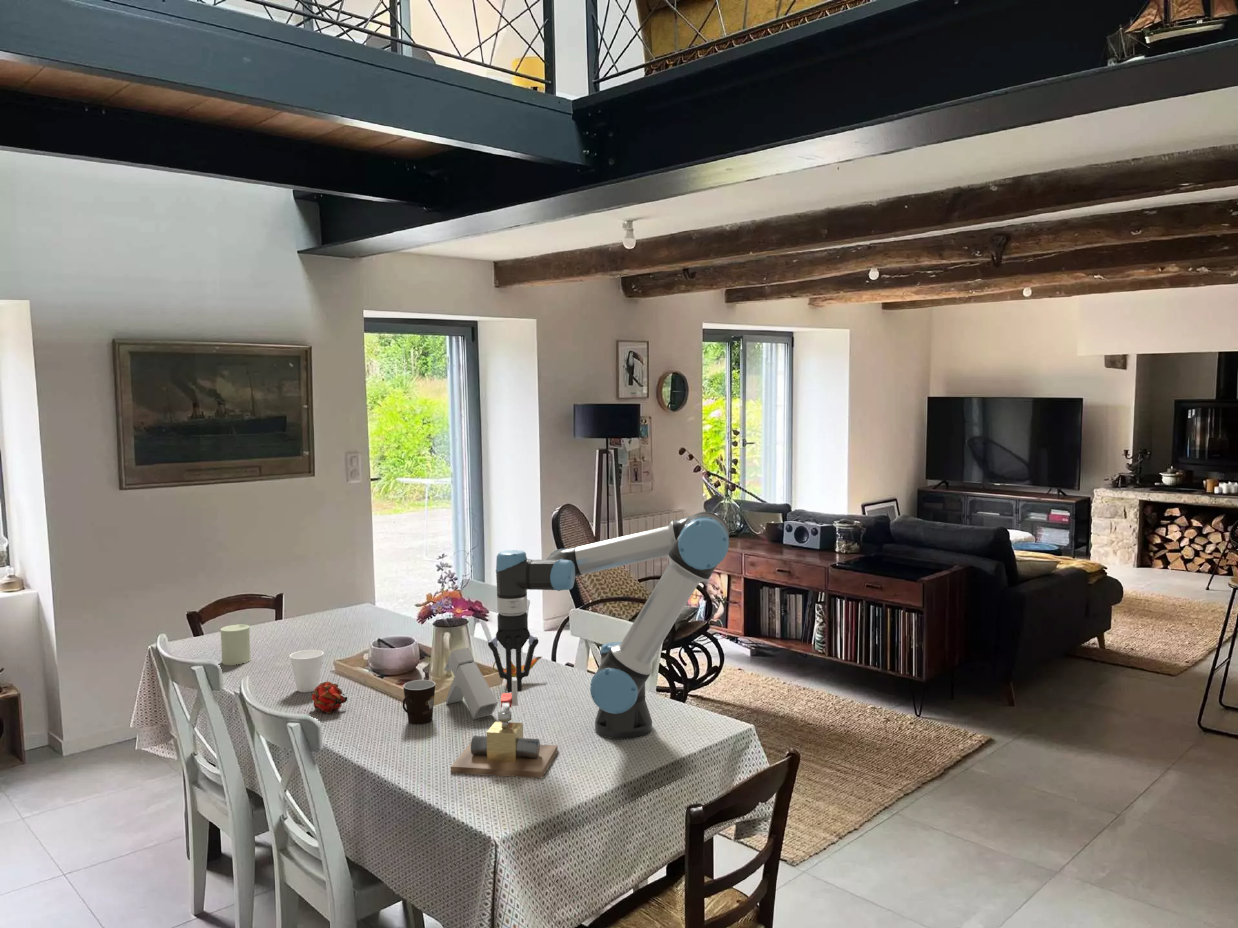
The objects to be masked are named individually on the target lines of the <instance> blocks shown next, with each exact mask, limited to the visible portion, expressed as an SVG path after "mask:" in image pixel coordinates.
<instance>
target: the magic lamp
mask: <svg viewBox="0 0 1238 928" xmlns="http://www.w3.org/2000/svg"><path fill="white" fill-rule="evenodd" d="M499 657H500V658H502V657H501V654H499ZM542 658H543V656H536V657H533V658H532V662H531V666H530V670H531V669H533V668H534V666H535V665H536V664H537V662H538V661H539V660H540V659H542ZM495 665H496V662H495V661H494V663H493V664H492V669H493V671H495V672H496V673H499V672H498V669H495ZM524 666H525V664H523V665H522V664H521V671H523V670H524ZM511 668H512V677H516V664H514V663H513V661H512V660H511ZM503 671H504V672H506V668H504V667H503ZM499 680H500V681H503V680H504V678H499ZM505 687H507V683H506V684H505Z"/></svg>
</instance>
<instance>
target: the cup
mask: <svg viewBox="0 0 1238 928" xmlns="http://www.w3.org/2000/svg"><path fill="white" fill-rule="evenodd" d="M324 654H325V653H324V651H322V650H319V649H305V650H303V649H302V650H299V651H295V652H292V653H290V654H289V655H288V657H289V659H290V663H291V667H292V671H293V676H294V681H295V686H296V690H297V691H298V692H299V693H314V692H315V691H314V690H315V688H316V687H317V686H318V685H320V678H321V670H322V663H323V656H324Z"/></svg>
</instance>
